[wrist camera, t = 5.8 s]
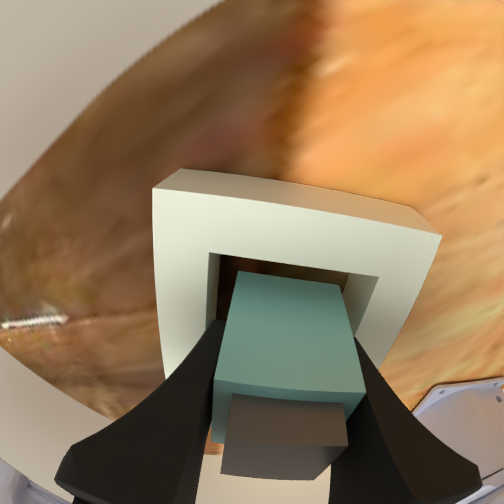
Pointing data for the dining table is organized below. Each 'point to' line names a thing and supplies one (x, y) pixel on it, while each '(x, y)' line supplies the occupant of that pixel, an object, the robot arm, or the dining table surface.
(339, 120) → the dining table surface
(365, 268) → the port
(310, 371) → the plug
